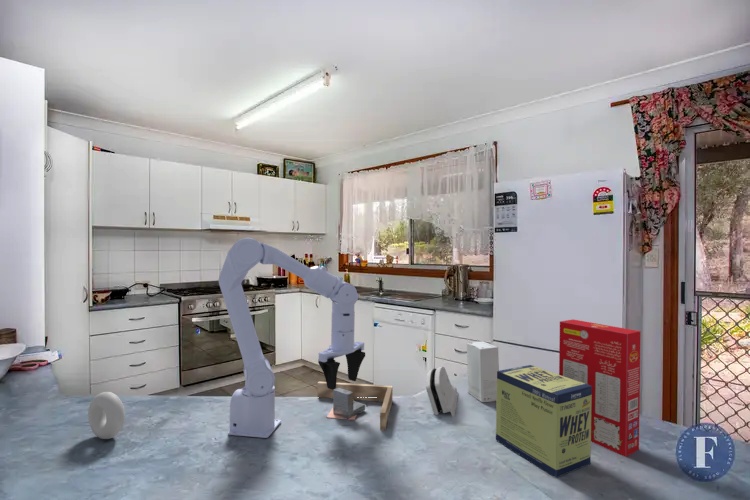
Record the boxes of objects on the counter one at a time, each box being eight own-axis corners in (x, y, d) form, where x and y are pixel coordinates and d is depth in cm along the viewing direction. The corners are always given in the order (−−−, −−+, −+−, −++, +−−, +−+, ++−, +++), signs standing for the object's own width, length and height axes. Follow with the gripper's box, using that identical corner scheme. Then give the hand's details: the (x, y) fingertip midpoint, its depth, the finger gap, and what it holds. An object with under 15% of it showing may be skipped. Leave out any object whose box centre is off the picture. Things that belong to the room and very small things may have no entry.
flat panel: (326, 417, 94) (326, 417, 94) (334, 404, 102) (334, 403, 102) (354, 419, 93) (354, 419, 93) (360, 406, 101) (360, 405, 101)
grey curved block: (454, 417, 94) (440, 378, 95) (436, 421, 96) (423, 382, 96) (458, 392, 111) (446, 359, 111) (442, 396, 112) (431, 363, 113)
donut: (128, 439, 83) (128, 393, 83) (112, 446, 80) (112, 399, 79) (101, 429, 87) (101, 386, 87) (84, 436, 84) (84, 391, 84)
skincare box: (500, 401, 104) (500, 347, 104) (480, 403, 103) (481, 348, 103) (484, 390, 113) (484, 340, 112) (465, 392, 111) (466, 341, 111)
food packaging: (638, 449, 80) (640, 331, 80) (625, 456, 77) (627, 334, 77) (571, 421, 92) (572, 319, 92) (558, 426, 90) (559, 321, 90)
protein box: (557, 479, 70) (558, 394, 69) (494, 440, 83) (495, 369, 83) (592, 464, 74) (593, 385, 74) (527, 430, 88) (528, 363, 88)
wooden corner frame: (297, 423, 91) (297, 406, 90) (318, 395, 108) (318, 381, 108) (385, 430, 88) (385, 412, 88) (392, 400, 105) (392, 385, 105)
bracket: (347, 419, 93) (348, 394, 93) (333, 413, 96) (333, 389, 96) (365, 410, 98) (365, 387, 98) (350, 405, 101) (350, 382, 101)
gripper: (350, 323, 103) (349, 373, 103) (310, 332, 92) (309, 388, 92) (370, 327, 99) (369, 379, 99) (330, 336, 87) (330, 395, 87)
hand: (342, 384), depth 95 cm, fingers open, 7 cm apart
